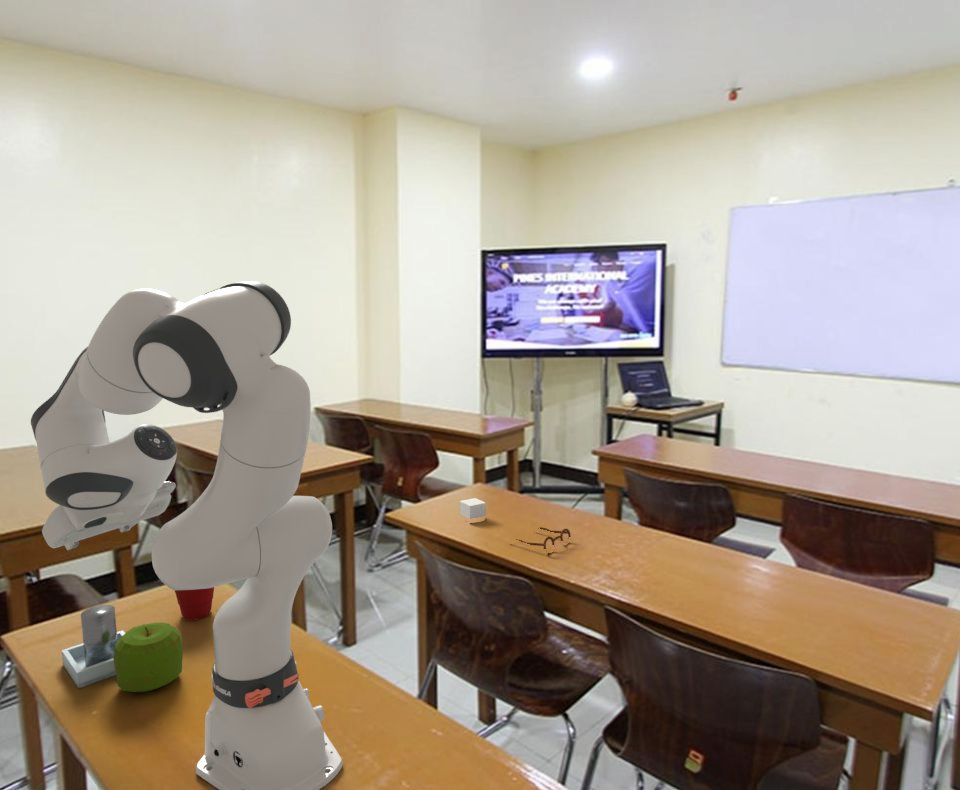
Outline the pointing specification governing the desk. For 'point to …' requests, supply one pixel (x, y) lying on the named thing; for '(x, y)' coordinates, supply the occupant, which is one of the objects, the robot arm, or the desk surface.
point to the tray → (87, 675)
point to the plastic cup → (195, 603)
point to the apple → (148, 657)
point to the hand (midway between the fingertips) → (97, 536)
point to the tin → (99, 633)
